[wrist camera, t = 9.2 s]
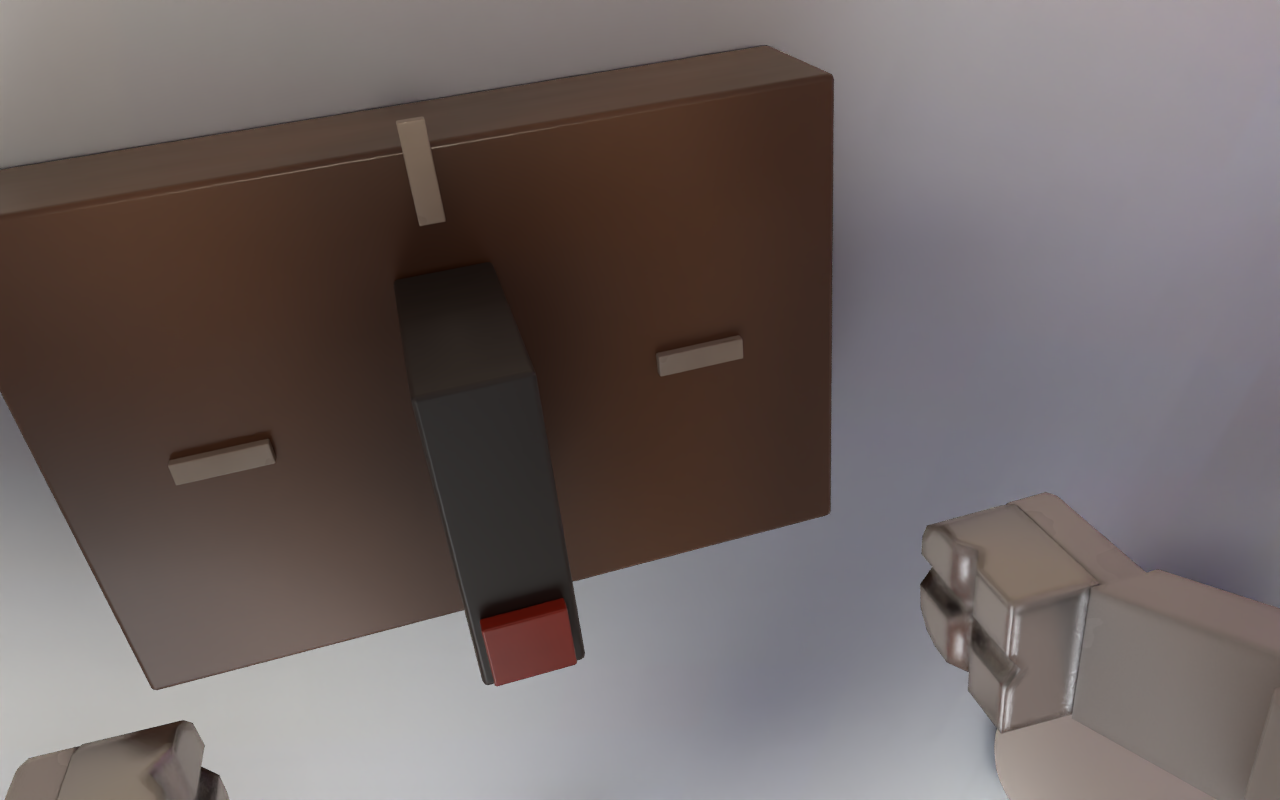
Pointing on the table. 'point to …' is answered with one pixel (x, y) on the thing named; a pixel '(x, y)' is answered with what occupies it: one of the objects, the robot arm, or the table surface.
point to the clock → (373, 352)
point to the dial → (490, 470)
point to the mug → (1079, 767)
